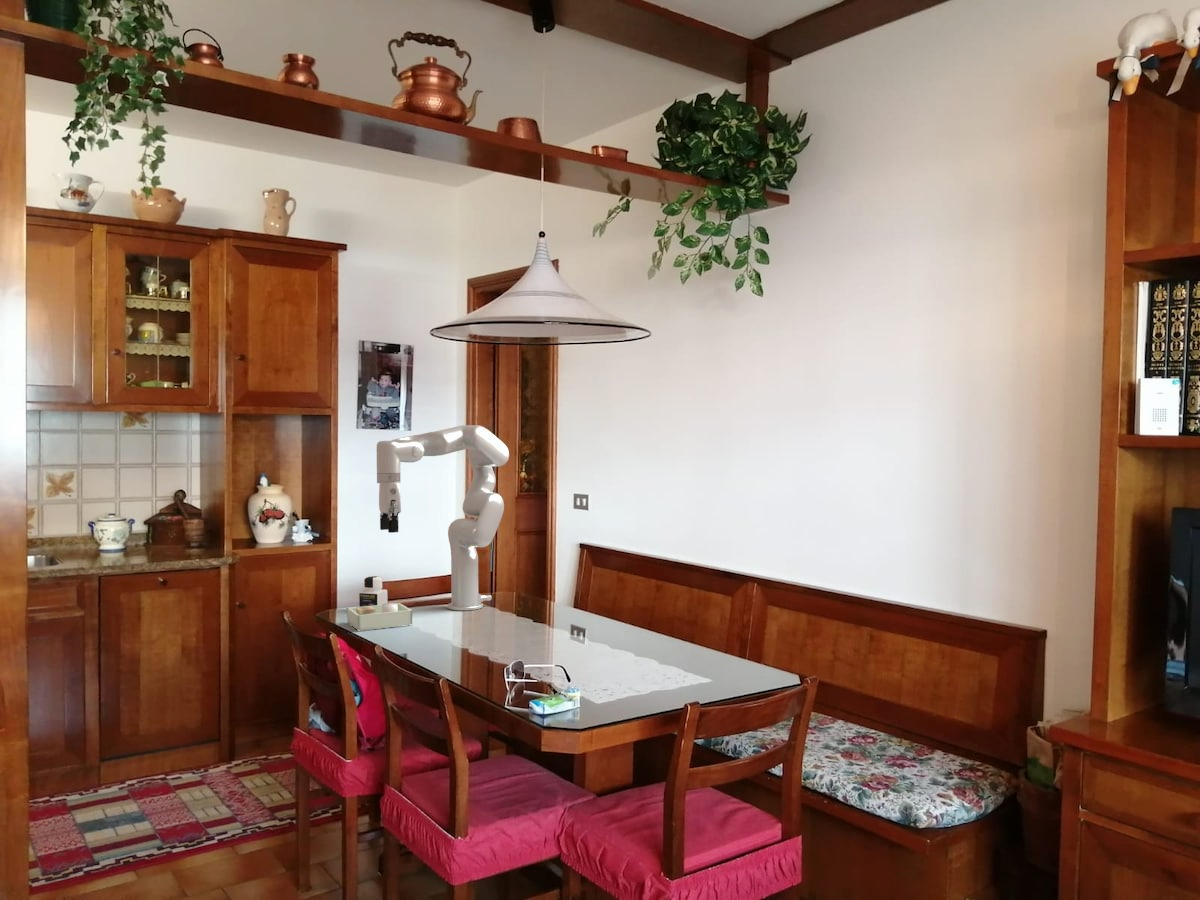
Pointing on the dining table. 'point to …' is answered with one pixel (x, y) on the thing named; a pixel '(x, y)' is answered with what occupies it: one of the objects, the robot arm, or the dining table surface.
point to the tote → (379, 618)
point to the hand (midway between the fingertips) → (389, 530)
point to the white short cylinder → (389, 607)
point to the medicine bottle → (373, 592)
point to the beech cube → (365, 610)
